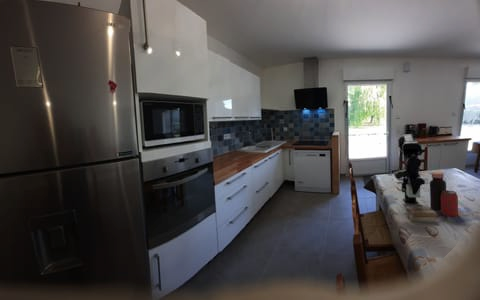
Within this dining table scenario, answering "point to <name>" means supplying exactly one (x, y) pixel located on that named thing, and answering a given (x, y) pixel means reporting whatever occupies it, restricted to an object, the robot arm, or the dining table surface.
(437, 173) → the bottle
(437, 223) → the mat
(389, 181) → the dining table surface
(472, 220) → the dining table surface
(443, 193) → the beer can
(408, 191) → the sage block
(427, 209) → the slab top
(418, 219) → the slab bottom
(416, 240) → the dining table surface
